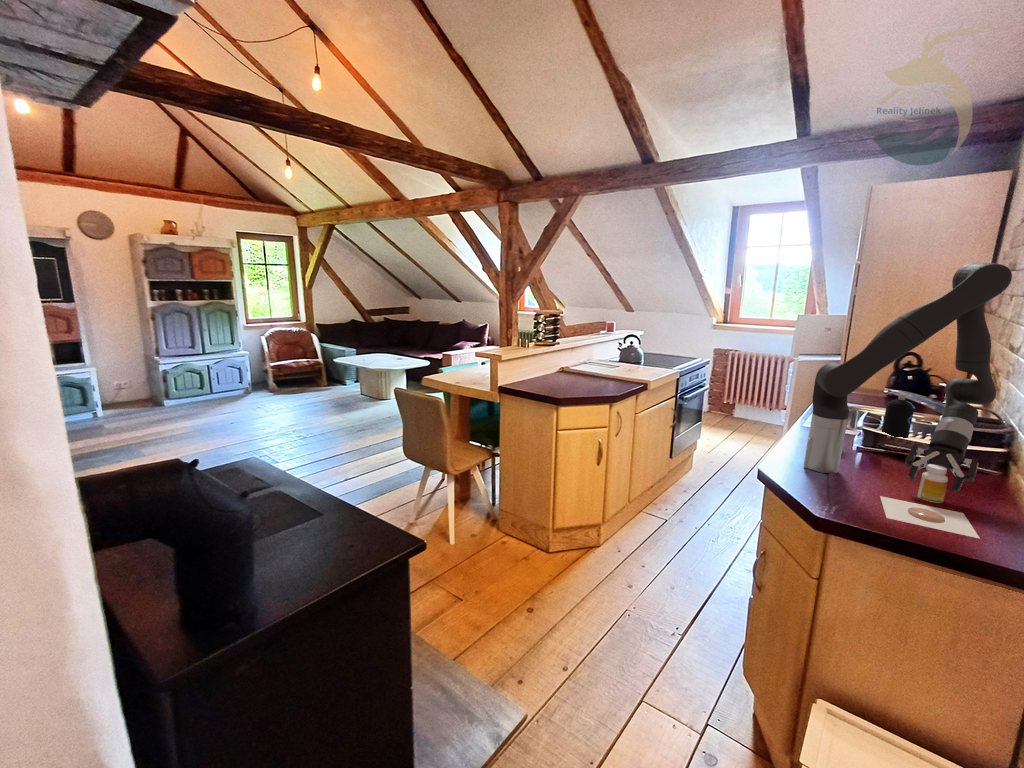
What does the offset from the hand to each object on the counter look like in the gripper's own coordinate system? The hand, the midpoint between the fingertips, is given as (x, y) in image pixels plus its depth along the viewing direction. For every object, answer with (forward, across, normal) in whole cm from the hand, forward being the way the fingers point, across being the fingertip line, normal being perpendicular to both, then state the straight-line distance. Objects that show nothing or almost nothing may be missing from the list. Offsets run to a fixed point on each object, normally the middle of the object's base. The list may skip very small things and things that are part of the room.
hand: (932, 485), depth 127 cm
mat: (+12, +2, -6) cm, 14 cm away
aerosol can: (-30, -20, +37) cm, 51 cm away
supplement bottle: (+3, 0, +4) cm, 5 cm away
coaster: (+12, +2, -6) cm, 14 cm away
